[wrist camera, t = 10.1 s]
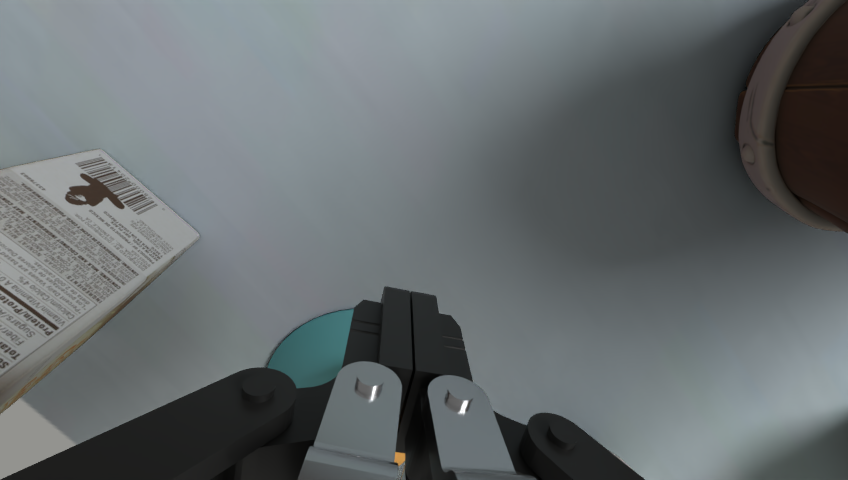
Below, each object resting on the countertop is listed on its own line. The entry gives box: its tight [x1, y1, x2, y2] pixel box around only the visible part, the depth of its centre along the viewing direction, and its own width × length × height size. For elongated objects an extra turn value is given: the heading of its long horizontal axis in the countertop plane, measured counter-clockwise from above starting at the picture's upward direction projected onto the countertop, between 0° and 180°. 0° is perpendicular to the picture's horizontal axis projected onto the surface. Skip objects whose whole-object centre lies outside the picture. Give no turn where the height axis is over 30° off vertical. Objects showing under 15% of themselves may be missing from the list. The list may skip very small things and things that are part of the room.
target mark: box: [267, 309, 405, 463], centre depth 26 cm, size 12×12×1 cm
